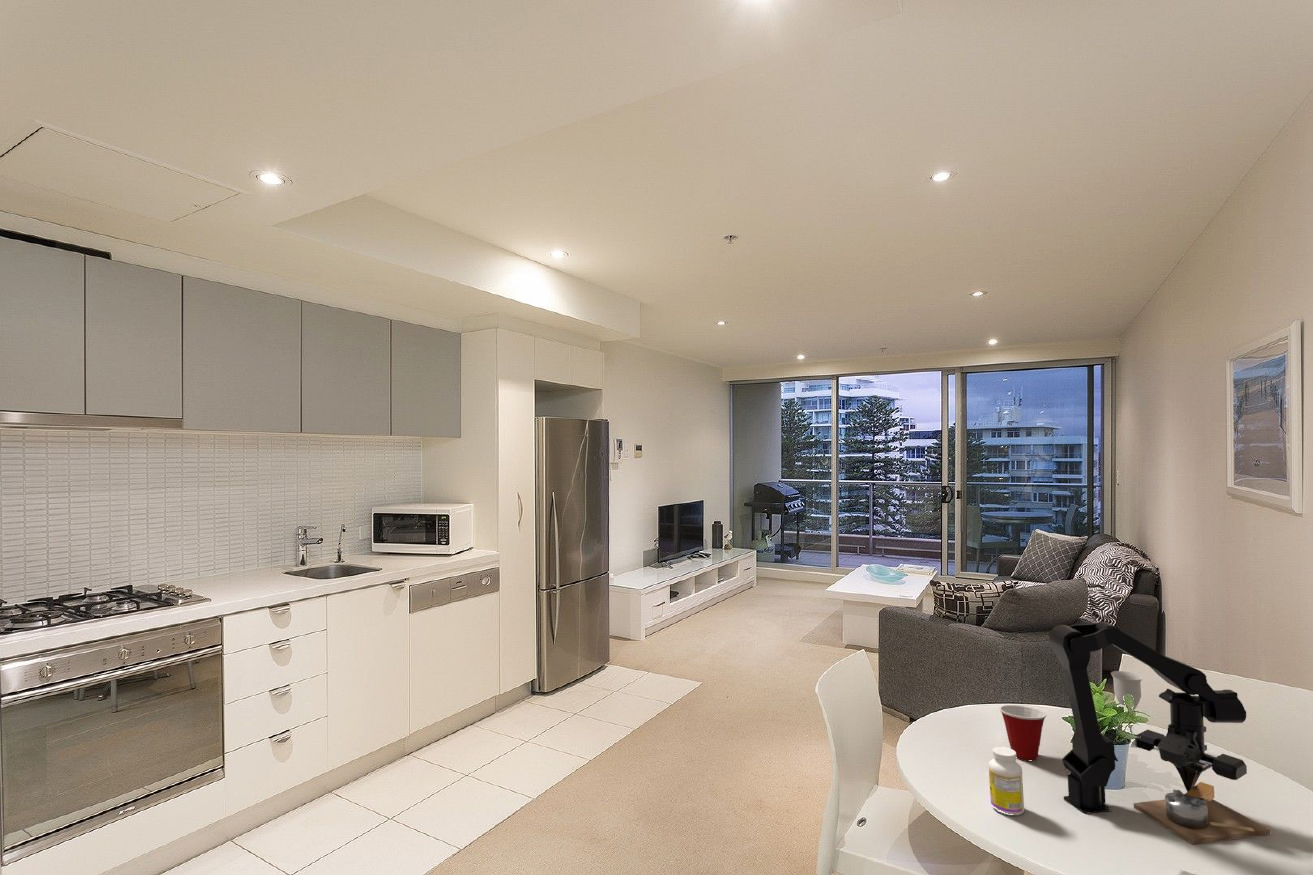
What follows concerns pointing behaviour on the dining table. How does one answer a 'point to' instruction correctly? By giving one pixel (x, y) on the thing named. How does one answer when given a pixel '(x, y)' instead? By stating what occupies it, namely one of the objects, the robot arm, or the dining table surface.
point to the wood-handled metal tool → (1190, 806)
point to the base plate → (1219, 818)
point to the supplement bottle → (1006, 781)
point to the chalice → (1127, 688)
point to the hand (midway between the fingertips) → (1189, 791)
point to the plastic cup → (1023, 729)
